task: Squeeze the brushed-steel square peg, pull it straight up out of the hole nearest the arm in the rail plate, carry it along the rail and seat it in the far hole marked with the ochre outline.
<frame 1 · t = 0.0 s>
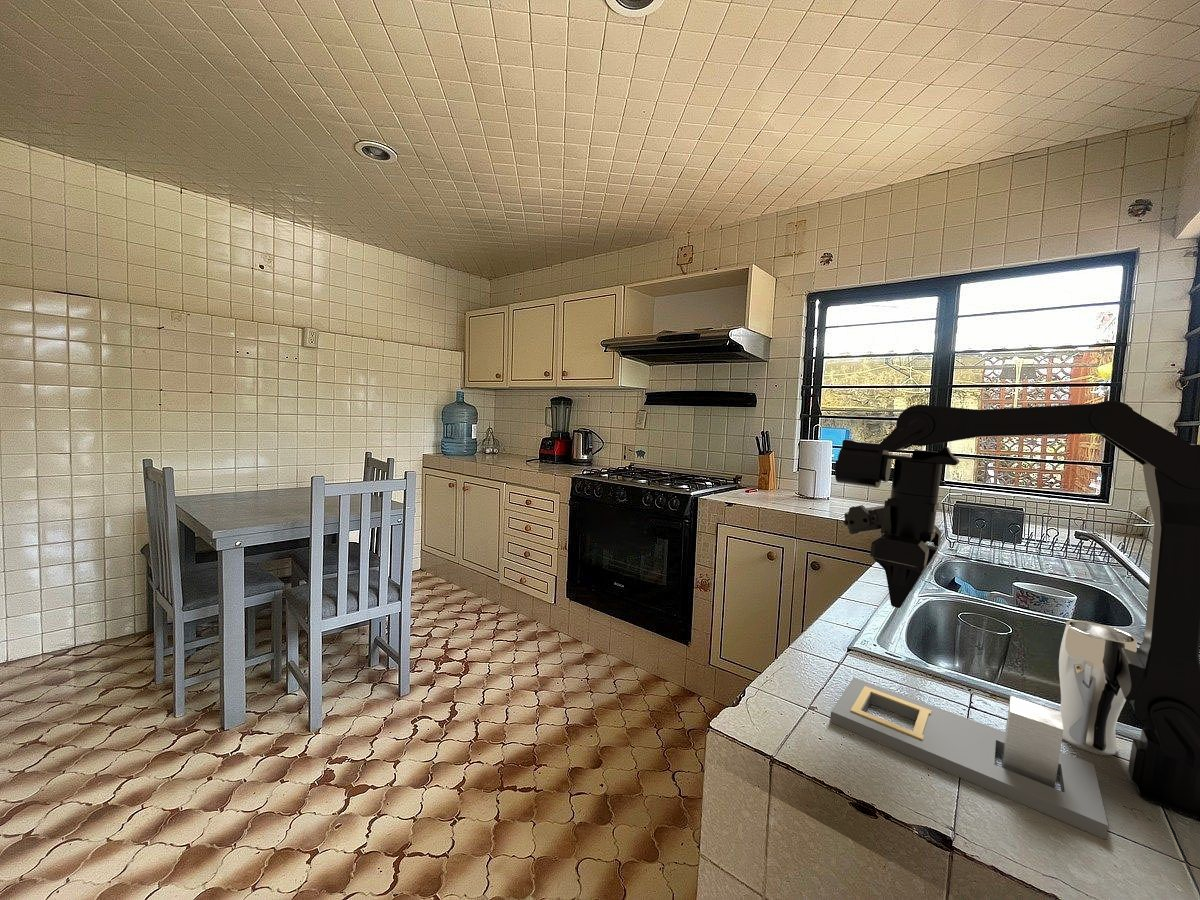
hand: (901, 598, 73), 15 cm above the counter, tool pointing down, fingers open, 9 cm apart
rail: (953, 747, 63), on the counter
peg: (1026, 776, 58), resting in rail
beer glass: (1083, 741, 66), on the counter
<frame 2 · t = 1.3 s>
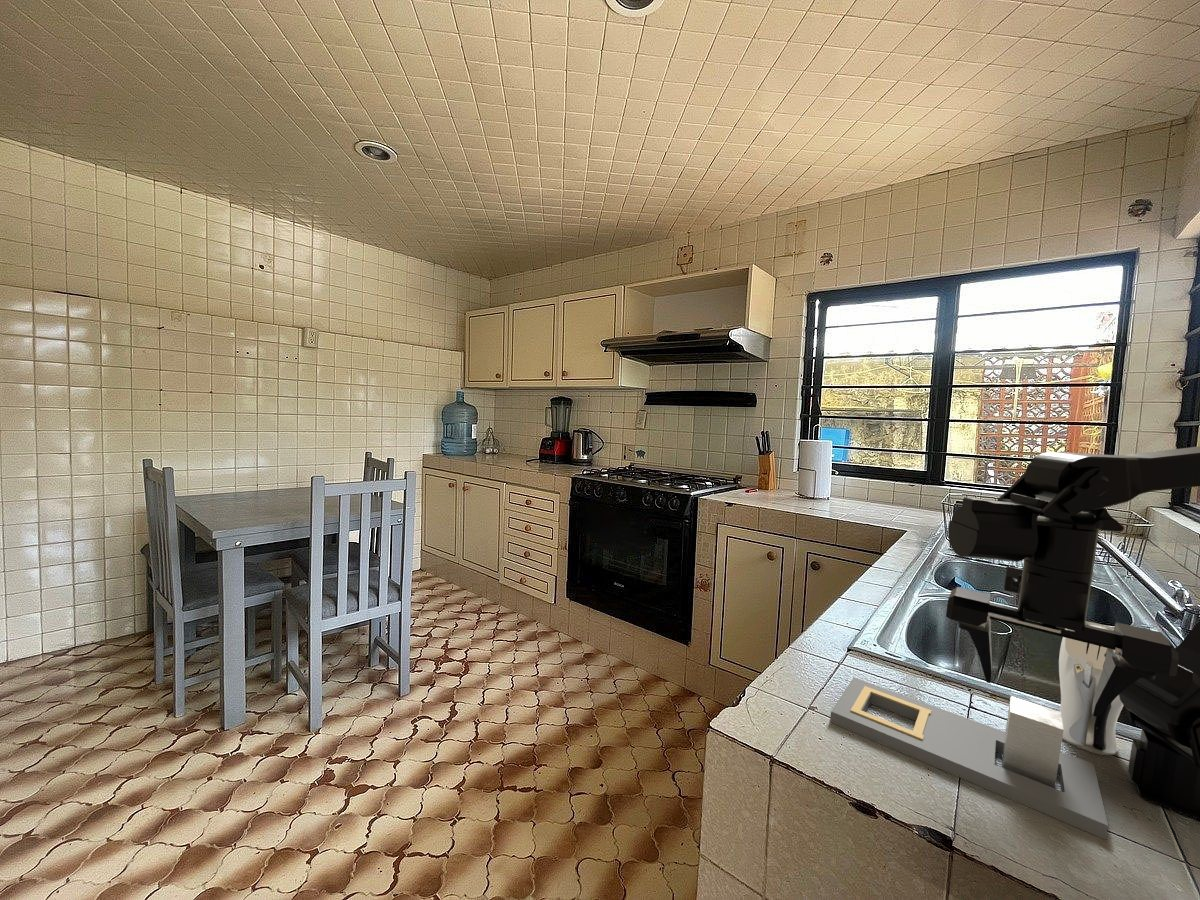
hand: (1038, 697, 57), 10 cm above the counter, tool pointing down, fingers open, 9 cm apart
nothing on the counter moved.
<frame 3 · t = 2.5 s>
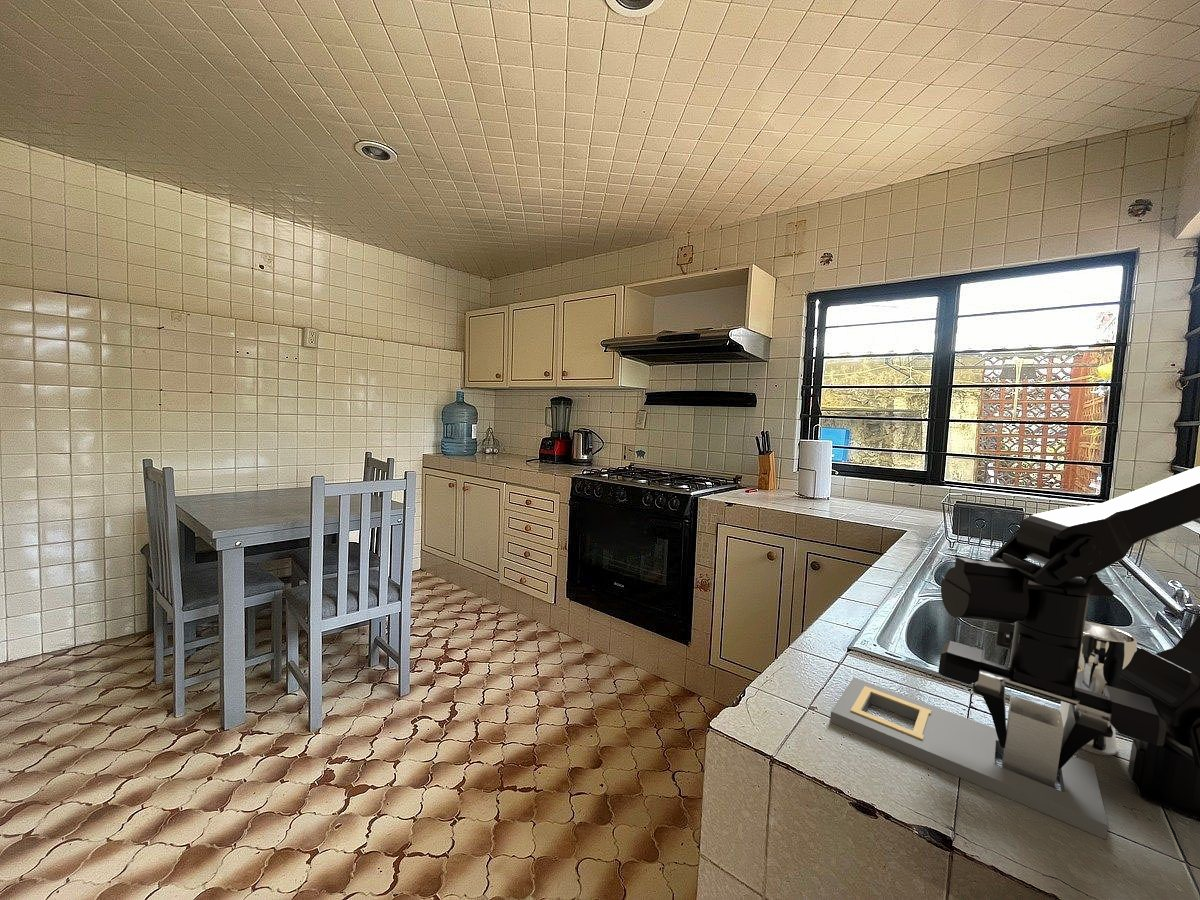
hand: (1029, 756, 58), 3 cm above the counter, tool pointing down, fingers closed on peg, 4 cm apart
peg: (1026, 776, 58), resting in rail, touching gripper
everything else where it was.
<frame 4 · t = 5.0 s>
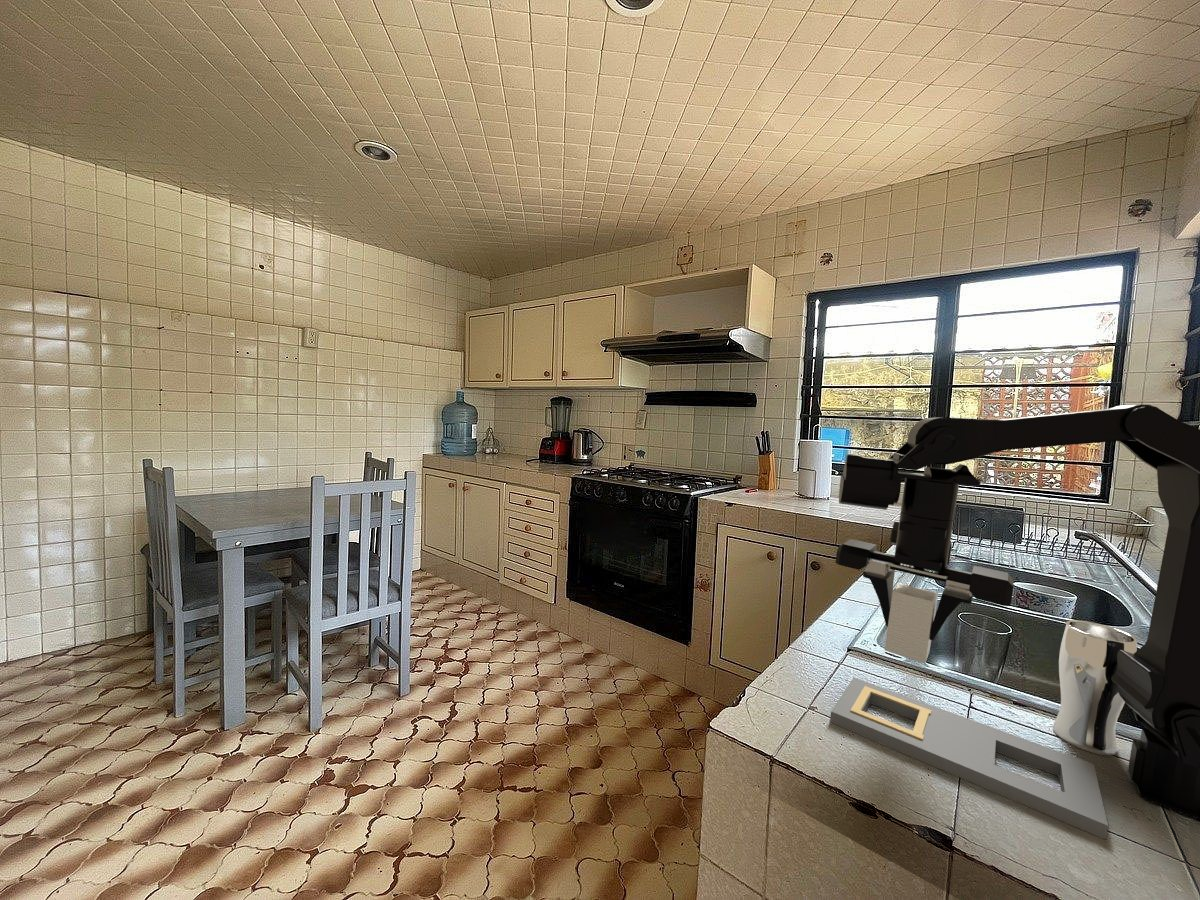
hand: (909, 632, 65), 13 cm above the counter, tool pointing down, fingers closed on peg, 4 cm apart
peg: (907, 651, 65), point 10 cm above the counter, touching gripper
everything else where it was.
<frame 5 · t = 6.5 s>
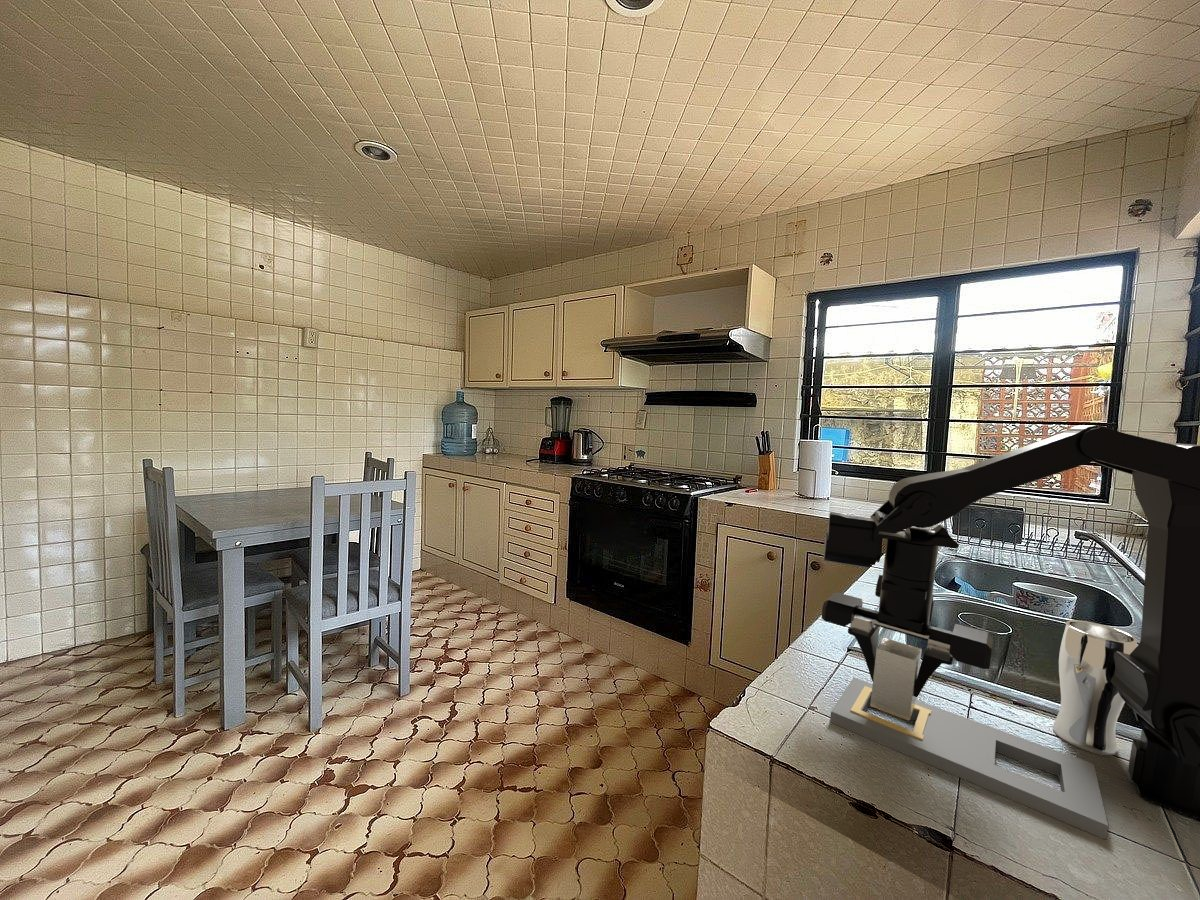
hand: (894, 688, 67), 5 cm above the counter, tool pointing down, fingers closed on peg, 4 cm apart
peg: (892, 706, 67), point 2 cm above the counter, touching gripper
everything else where it was.
when the fingers open (3 cm above the counter, at t = 7.6 s): peg drops 1 cm, resting in rail.
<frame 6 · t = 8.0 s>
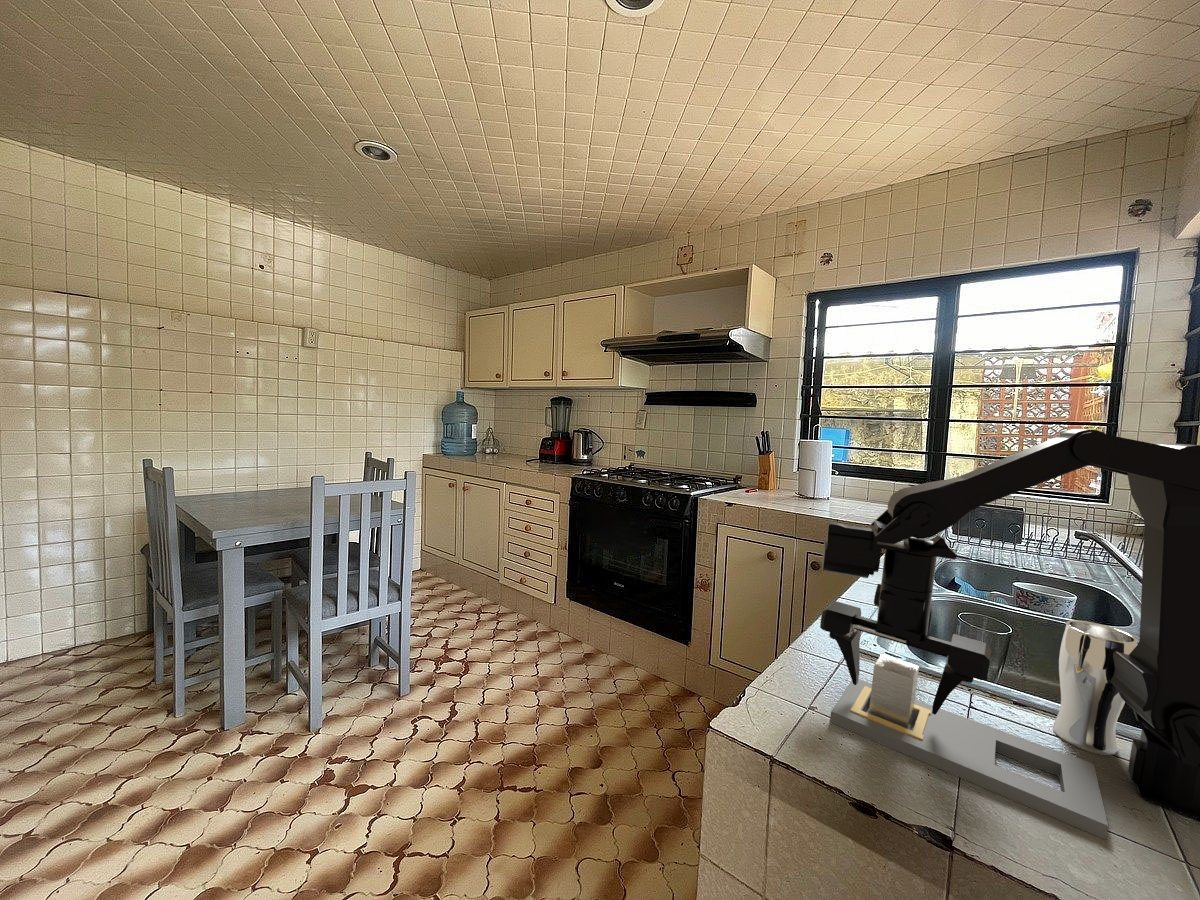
hand: (893, 697, 67), 3 cm above the counter, tool pointing down, fingers open, 9 cm apart
peg: (890, 722, 67), resting in rail
everything else where it was.
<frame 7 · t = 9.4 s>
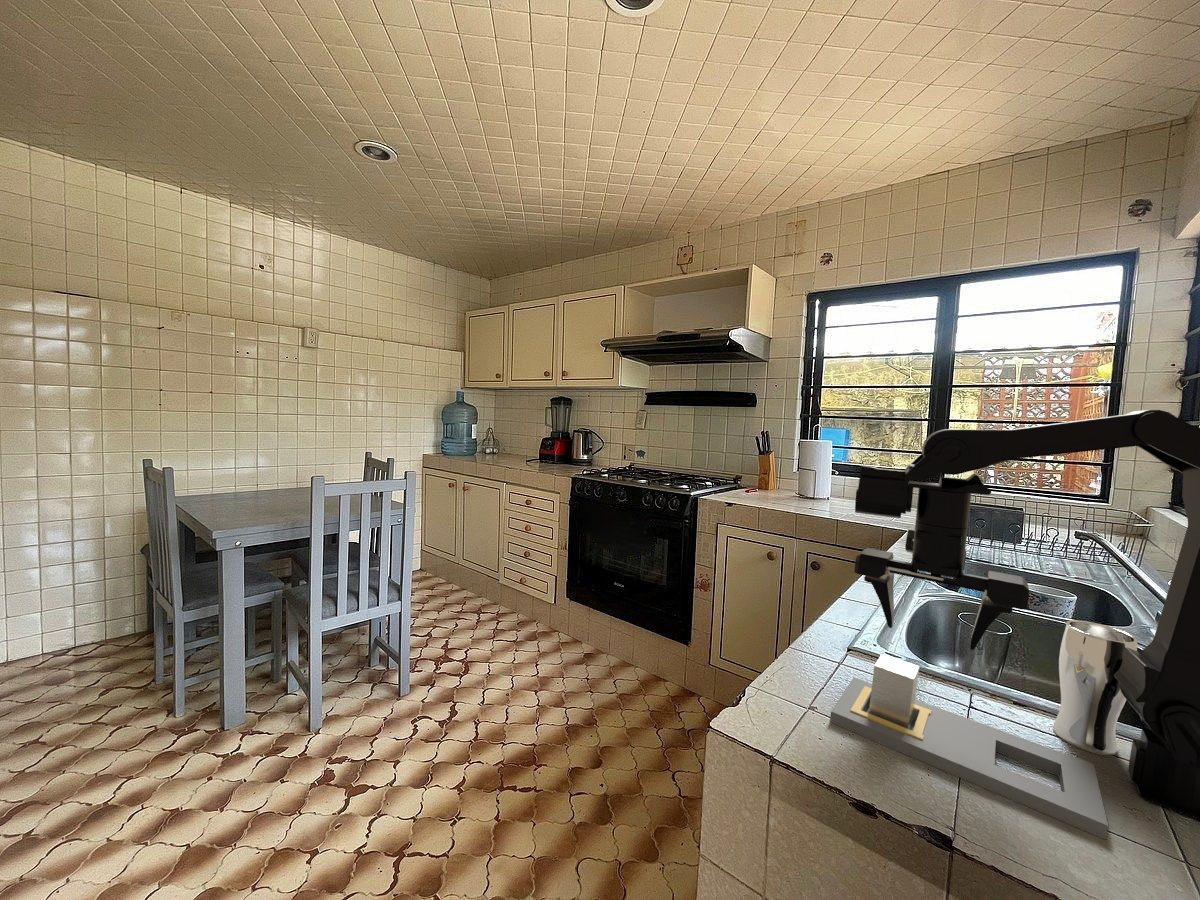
hand: (929, 637, 67), 12 cm above the counter, tool pointing down, fingers open, 9 cm apart
nothing on the counter moved.
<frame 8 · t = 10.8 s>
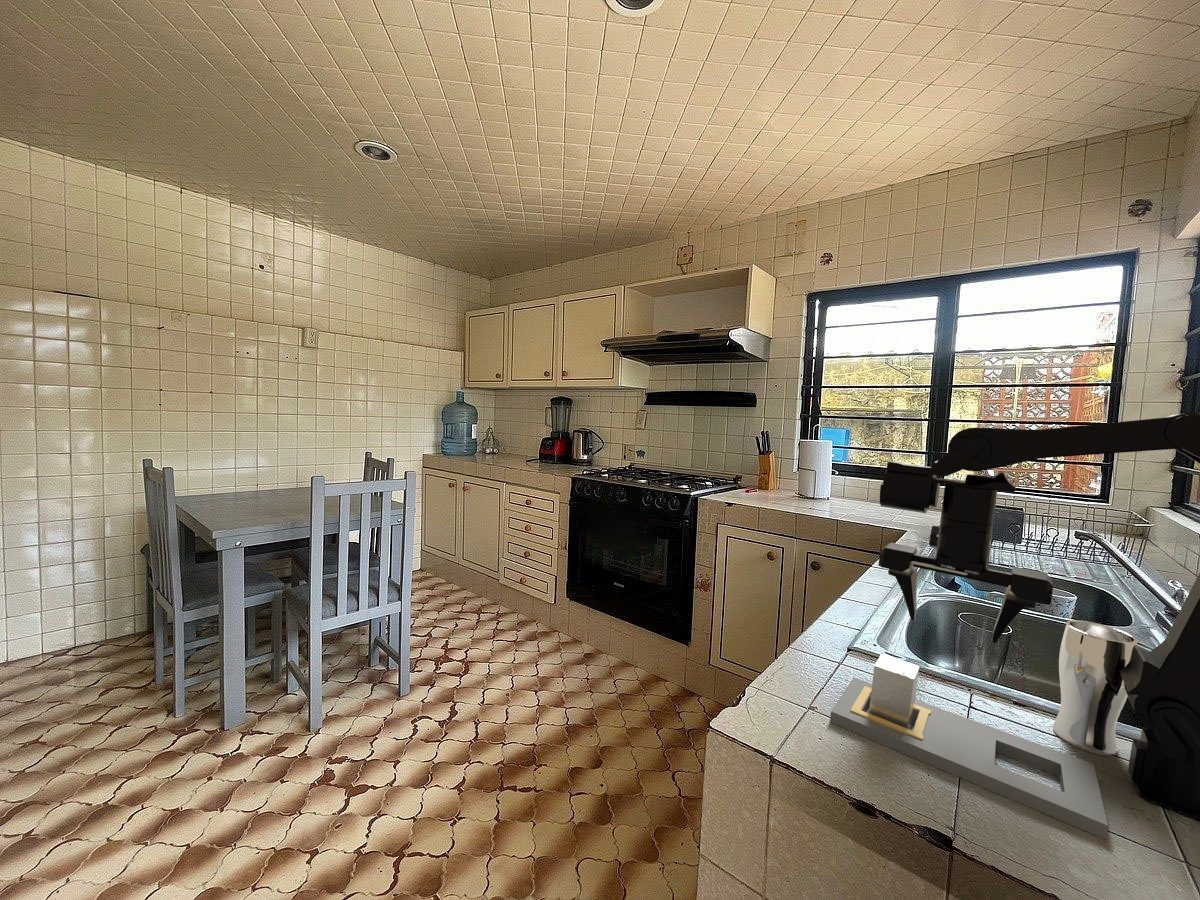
hand: (951, 630, 69), 12 cm above the counter, tool pointing down, fingers open, 9 cm apart
nothing on the counter moved.
at the end: peg 0.1 cm from the target spot on the rail, point 0.0 cm above the rail's base; peg tilted 0°; the gripper is holding nothing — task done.
